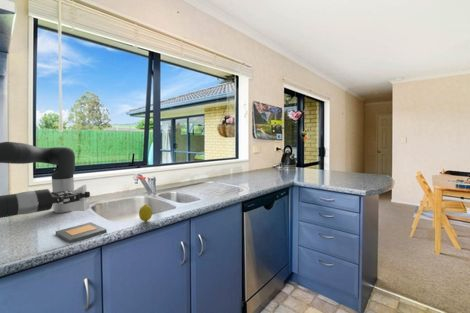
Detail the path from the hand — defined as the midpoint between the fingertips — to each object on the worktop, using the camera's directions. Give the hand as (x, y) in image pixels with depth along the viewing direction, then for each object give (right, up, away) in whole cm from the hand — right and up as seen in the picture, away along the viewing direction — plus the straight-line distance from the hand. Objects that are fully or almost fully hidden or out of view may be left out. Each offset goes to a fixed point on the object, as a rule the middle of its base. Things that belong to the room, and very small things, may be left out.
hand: (86, 193), depth 97 cm
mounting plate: (-2, -16, -1) cm, 16 cm away
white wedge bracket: (-2, -6, -2) cm, 7 cm away
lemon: (+19, -15, +13) cm, 27 cm away
